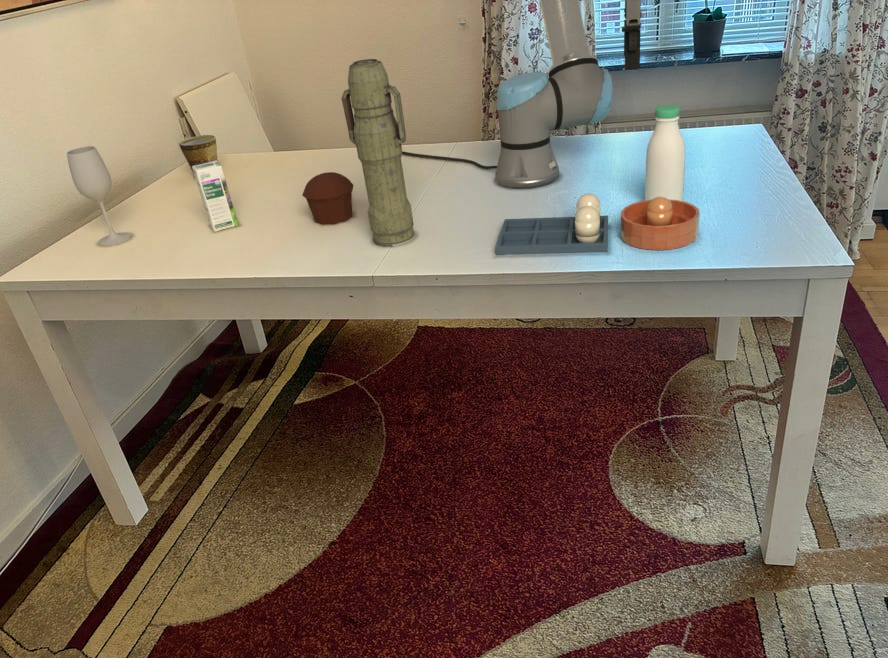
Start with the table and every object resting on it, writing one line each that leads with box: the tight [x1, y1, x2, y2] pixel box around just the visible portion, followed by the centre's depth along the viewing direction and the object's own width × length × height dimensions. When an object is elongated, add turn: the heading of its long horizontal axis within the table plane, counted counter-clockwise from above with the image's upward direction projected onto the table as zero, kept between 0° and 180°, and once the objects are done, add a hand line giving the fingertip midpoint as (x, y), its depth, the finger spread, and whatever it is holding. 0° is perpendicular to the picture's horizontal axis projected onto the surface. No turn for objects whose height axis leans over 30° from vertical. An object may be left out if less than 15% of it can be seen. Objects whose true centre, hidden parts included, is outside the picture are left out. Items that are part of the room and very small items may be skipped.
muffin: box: [301, 171, 354, 226], centre depth 166 cm, size 12×11×10 cm
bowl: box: [620, 199, 701, 251], centre depth 139 cm, size 14×14×5 cm
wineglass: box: [66, 145, 132, 247], centre depth 166 cm, size 8×8×21 cm
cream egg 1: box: [575, 193, 601, 216], centre depth 143 cm, size 5×5×8 cm
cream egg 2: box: [574, 206, 601, 243], centre depth 138 cm, size 5×5×8 cm
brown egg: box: [647, 196, 673, 226], centre depth 138 cm, size 5×5×8 cm
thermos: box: [341, 58, 415, 247], centre depth 145 cm, size 9×12×35 cm
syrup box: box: [192, 159, 239, 232], centre depth 168 cm, size 6×6×14 cm
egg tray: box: [495, 215, 609, 256], centre depth 144 cm, size 14×21×2 cm
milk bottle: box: [644, 104, 686, 201], centre depth 149 cm, size 8×8×20 cm
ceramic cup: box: [178, 134, 219, 177], centre depth 208 cm, size 13×10×10 cm
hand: (631, 61), depth 141 cm, fingers open, 13 cm apart
